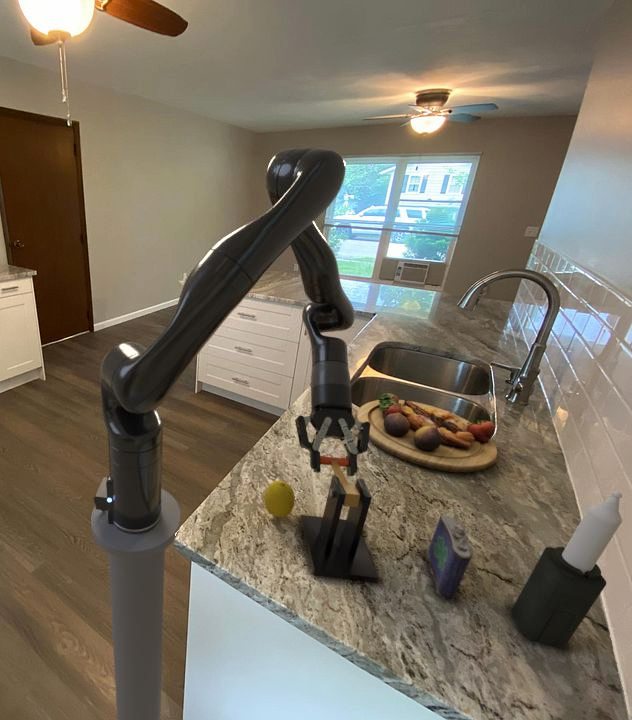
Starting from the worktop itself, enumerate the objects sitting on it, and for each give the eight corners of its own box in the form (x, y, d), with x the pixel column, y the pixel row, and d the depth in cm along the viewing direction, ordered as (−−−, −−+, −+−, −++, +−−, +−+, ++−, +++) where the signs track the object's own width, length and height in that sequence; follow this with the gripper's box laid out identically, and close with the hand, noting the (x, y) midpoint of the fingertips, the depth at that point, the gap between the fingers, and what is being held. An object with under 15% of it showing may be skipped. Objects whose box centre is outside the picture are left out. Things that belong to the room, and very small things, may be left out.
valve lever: (316, 463, 74) (318, 452, 74) (345, 466, 74) (347, 455, 73) (333, 504, 63) (335, 492, 62) (367, 508, 62) (370, 496, 61)
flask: (423, 550, 68) (441, 503, 64) (442, 555, 67) (462, 508, 63) (438, 598, 60) (460, 547, 56) (459, 604, 59) (484, 553, 55)
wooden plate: (490, 428, 107) (500, 402, 104) (502, 494, 82) (516, 463, 79) (365, 395, 123) (371, 372, 120) (344, 443, 98) (350, 414, 95)
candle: (524, 638, 55) (605, 501, 45) (508, 605, 59) (579, 474, 50) (568, 651, 53) (662, 512, 44) (548, 616, 58) (630, 483, 48)
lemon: (294, 526, 72) (301, 493, 69) (265, 526, 72) (270, 492, 69) (286, 505, 77) (292, 472, 74) (259, 504, 77) (264, 472, 74)
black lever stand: (300, 519, 74) (312, 460, 69) (354, 525, 73) (370, 466, 68) (313, 575, 63) (328, 510, 58) (376, 583, 62) (398, 517, 57)
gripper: (298, 378, 75) (299, 467, 69) (375, 385, 74) (382, 476, 68) (290, 390, 82) (290, 472, 76) (360, 396, 81) (366, 480, 75)
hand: (333, 473), depth 72 cm, fingers closed on valve lever, 5 cm apart
